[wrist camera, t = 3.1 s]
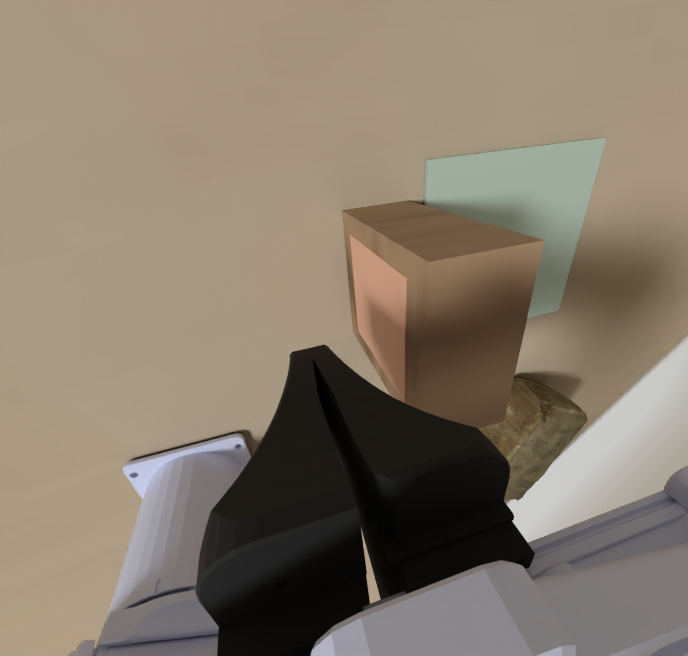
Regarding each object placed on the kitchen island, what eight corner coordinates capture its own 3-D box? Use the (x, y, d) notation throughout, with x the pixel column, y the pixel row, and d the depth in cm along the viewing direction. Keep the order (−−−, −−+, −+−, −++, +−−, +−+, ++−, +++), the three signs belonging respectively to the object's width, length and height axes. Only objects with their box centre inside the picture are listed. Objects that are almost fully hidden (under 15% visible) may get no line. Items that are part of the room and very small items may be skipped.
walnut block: (407, 320, 22) (504, 421, 14) (352, 332, 22) (419, 446, 13) (408, 200, 18) (544, 240, 10) (341, 210, 18) (426, 262, 9)
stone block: (549, 379, 30) (598, 416, 26) (486, 463, 35) (519, 507, 30) (507, 369, 28) (553, 408, 24) (445, 461, 32) (474, 507, 28)
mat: (555, 309, 26) (558, 310, 26) (419, 341, 24) (421, 343, 23) (602, 137, 20) (606, 137, 19) (425, 159, 18) (428, 159, 17)
